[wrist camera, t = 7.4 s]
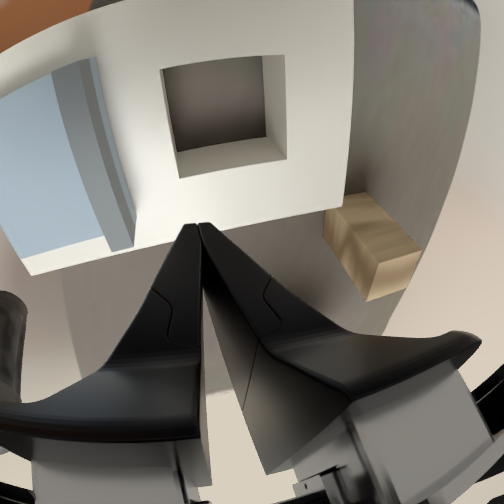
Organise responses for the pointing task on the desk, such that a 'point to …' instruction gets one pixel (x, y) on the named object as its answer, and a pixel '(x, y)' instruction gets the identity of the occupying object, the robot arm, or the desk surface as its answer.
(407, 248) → the wooden peg
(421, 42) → the desk surface
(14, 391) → the beverage cup
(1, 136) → the sliding cover
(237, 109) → the desk surface
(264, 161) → the socket base
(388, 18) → the desk surface
